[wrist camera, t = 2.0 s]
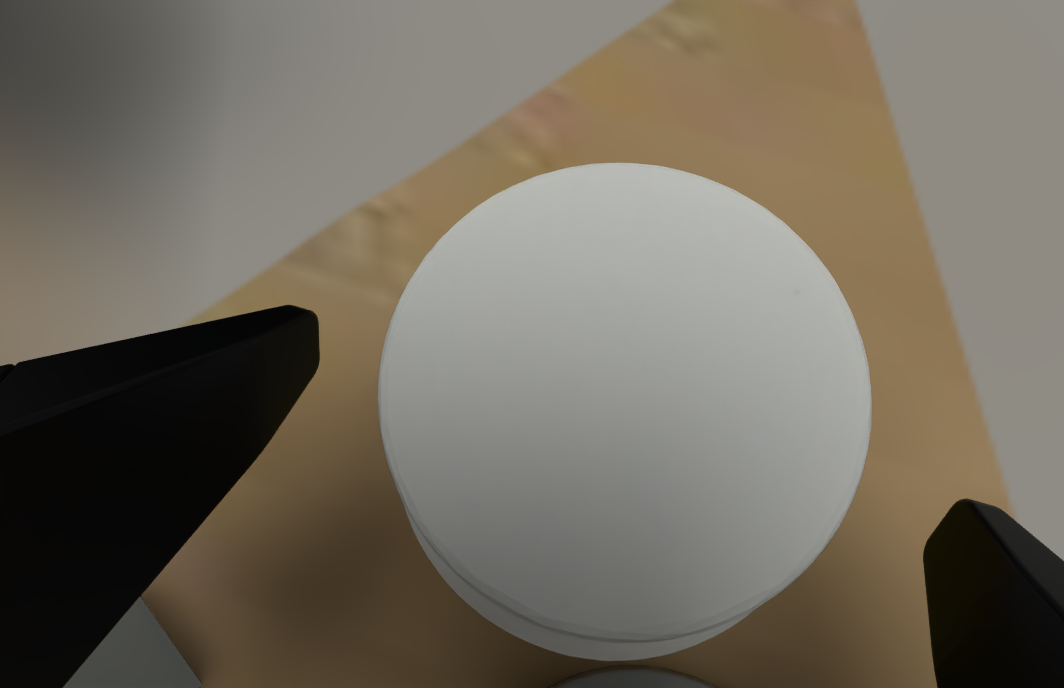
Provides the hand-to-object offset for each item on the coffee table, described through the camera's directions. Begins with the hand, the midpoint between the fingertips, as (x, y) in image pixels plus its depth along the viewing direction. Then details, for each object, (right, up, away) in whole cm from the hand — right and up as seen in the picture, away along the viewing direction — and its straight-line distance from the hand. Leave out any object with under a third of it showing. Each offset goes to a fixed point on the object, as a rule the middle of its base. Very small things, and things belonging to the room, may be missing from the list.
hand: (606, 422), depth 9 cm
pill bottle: (+1, -2, +8) cm, 8 cm away
